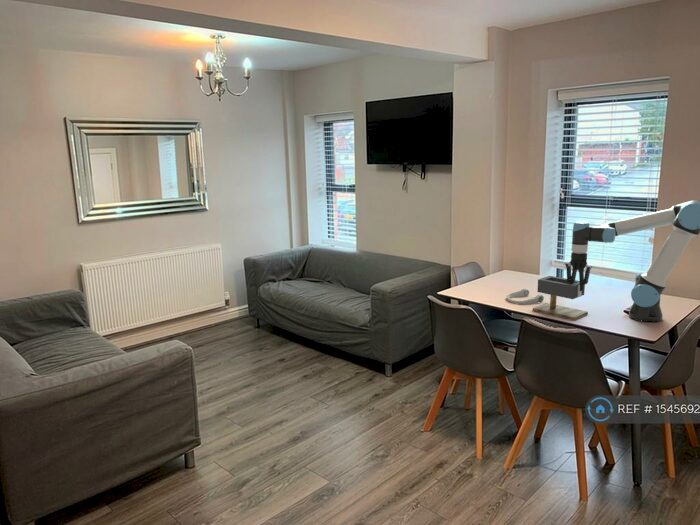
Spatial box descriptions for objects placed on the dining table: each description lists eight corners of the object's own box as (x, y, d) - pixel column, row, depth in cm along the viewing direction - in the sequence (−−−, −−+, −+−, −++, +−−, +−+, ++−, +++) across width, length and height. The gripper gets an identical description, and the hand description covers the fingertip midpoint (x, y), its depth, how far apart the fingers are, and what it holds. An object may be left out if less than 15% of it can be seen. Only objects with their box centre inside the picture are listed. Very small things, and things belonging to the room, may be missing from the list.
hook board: (587, 314, 276) (589, 285, 273) (574, 320, 268) (576, 290, 264) (545, 305, 294) (547, 277, 291) (532, 310, 286) (533, 282, 282)
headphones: (517, 306, 296) (518, 297, 295) (501, 298, 311) (501, 290, 310) (544, 302, 301) (545, 294, 300) (527, 295, 316) (527, 287, 315)
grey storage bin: (584, 294, 275) (585, 281, 274) (572, 299, 268) (573, 286, 266) (549, 287, 290) (549, 275, 289) (537, 292, 283) (538, 279, 281)
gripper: (597, 252, 264) (594, 297, 269) (568, 249, 275) (565, 291, 280) (590, 255, 259) (587, 300, 264) (561, 251, 271) (558, 294, 276)
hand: (576, 295), depth 272 cm, fingers closed on grey storage bin, 2 cm apart
